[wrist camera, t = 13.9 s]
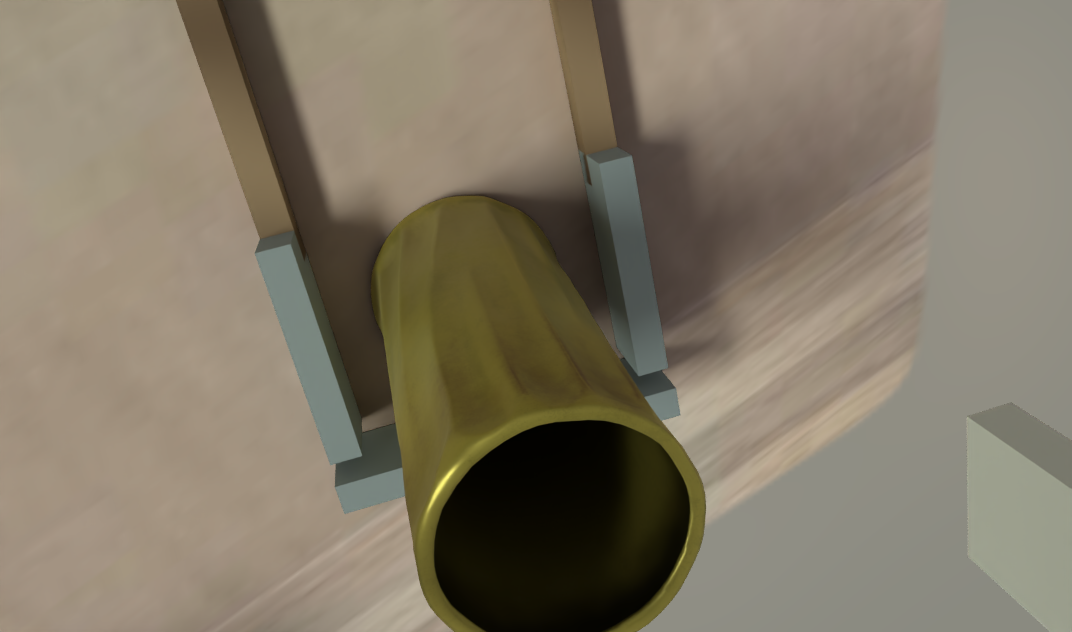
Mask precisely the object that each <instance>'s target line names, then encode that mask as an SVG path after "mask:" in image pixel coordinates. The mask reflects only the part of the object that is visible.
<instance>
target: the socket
mask: <svg viewBox="0 0 1072 632" xmlns="http://www.w3.org/2000/svg"><path fill="white" fill-rule="evenodd" d="M579 155H580V161H581V166H582V171H583V176H584V181H585V186H586V191H587V197H588V202H589V207H590V212H591V217H592V222H593V227H594V233H595V238H596V243H597V248H598V253H599V258H600V263H601V269H602V274H603V279H604V284H605V289H606V294H607V299H608V305H609V310H610V315H611V320H612V325H613V330H614V335H615V341H616V346H617V348H618V349H619V351H620V352H621V353H622V355H623V356H624V357H625V358H624V359H620V361H621V362H622V364H623V366H624V367H625V369H626V370H627V372H628V373H629V375H630V376H631V378H632V379H633V381H634V382H635V384H636V386H637V387H638V389H639V390H640V391H641V393H642V394H643V396H644V397H645V399H646V400H647V402H648V403H649V405H650V406H651V408H652V409H653V410H654V412H655V413H656V415H657V416H658V417H659V419H660V420H661V421H662V420H666V419H669V418H672V417H676V416H679V415H680V409H679V403H678V398H677V392H676V388H675V386H674V385H673V384H672V383H671V381H670V380H669V379H668V378H667V377H666V375H665V374H664V373H663V372H662V370H663V369H666V368H668V364H667V358H666V352H665V346H664V340H663V334H662V328H661V323H660V317H659V311H658V305H657V299H656V293H655V287H654V282H653V276H652V270H651V264H650V258H649V252H648V246H647V241H646V235H645V229H644V223H643V217H642V211H641V205H640V200H639V194H638V188H637V182H636V176H635V170H634V164H633V159H632V155H630V154H629V153H627V152H625V151H623V150H622V149H620V148H618V147H616V148H612V149H608V150H604V151H600V152H596V153H592V154H588V155H586V157H587V162H588V167H589V172H590V177H591V183H592V186H591V185H590V184H588V182H587V180H588V178H587V177H586V176H587V175H585V174H586V169H584V168H585V167H586V166H585V164H584V163H585V162H584V156H583V155H584V153H582V152H581V151H580V150H579ZM255 256H256V258H257V261H258V264H259V267H260V269H261V272H262V275H263V278H264V281H265V283H266V286H267V289H268V292H269V295H270V297H271V300H272V303H273V306H274V309H275V311H276V314H277V317H278V320H279V323H280V325H281V328H282V331H283V334H284V337H285V339H286V342H287V345H288V348H289V351H290V353H291V356H292V359H293V362H294V365H295V367H296V370H297V373H298V376H299V379H300V381H301V384H302V387H303V390H304V393H305V395H306V398H307V401H308V404H309V406H310V409H311V412H312V415H313V418H314V420H315V423H316V426H317V429H318V432H319V434H320V437H321V440H322V443H323V446H324V448H325V451H326V454H327V457H328V460H329V462H330V465H333V464H336V474H335V489H336V491H337V494H338V497H339V500H340V503H341V505H342V508H343V511H344V514H346V513H349V512H353V511H356V510H360V509H363V508H366V507H370V506H373V505H377V504H380V503H383V502H387V501H390V500H394V499H397V498H400V497H404V496H405V491H404V481H403V469H402V458H401V450H400V446H399V441H398V435H397V429H396V424H392V425H389V426H385V427H382V428H378V429H375V430H371V431H367V432H364V433H362V419H361V416H360V413H359V410H358V407H357V404H356V401H355V398H354V395H353V392H352V389H351V386H350V383H349V380H348V377H347V374H346V371H345V368H344V365H343V362H342V359H341V356H340V353H339V350H338V347H337V344H336V341H335V338H334V335H333V332H332V329H331V326H330V323H329V320H328V317H327V314H326V311H325V308H324V305H323V302H322V298H321V295H320V292H319V289H318V286H317V283H316V280H315V277H314V274H313V271H312V268H311V265H310V262H309V259H308V256H307V253H306V257H305V262H304V259H303V256H302V253H301V250H300V247H299V244H298V241H297V238H296V235H295V232H294V231H290V232H286V233H282V234H278V235H275V236H271V237H267V238H263V239H260V241H259V244H258V246H257V249H256V251H255Z"/></svg>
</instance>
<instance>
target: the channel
mask: <svg viewBox="0 0 1072 632" xmlns="http://www.w3.org/2000/svg"><path fill="white" fill-rule="evenodd" d="M549 1H550V6H551V12H552V17H553V22H554V27H555V32H556V37H557V42H558V48H559V53H560V58H561V63H562V68H563V73H564V78H565V84H566V89H567V94H568V99H569V104H570V109H571V114H572V120H573V125H574V130H575V135H576V140H577V145H578V150H580V151H581V152H582V153H584V155H583V156H584V162H585V163H584V164H585V166H586V167H585V168H584V169H586V174H585V175H587V176H586V177H587V178H588V180H587V182H588V184H590V185H591V186H592V183H591V177H590V172H589V167H588V162H587V157H586V155H588V154H592V153H596V152H600V151H604V150H608V149H612V148H616V147H617V142H616V136H615V131H614V125H613V119H612V114H611V108H610V102H609V97H608V91H607V85H606V80H605V74H604V68H603V63H602V57H601V51H600V46H599V40H598V34H597V29H596V23H595V17H594V12H593V6H592V0H549ZM176 2H177V5H178V8H179V10H180V13H181V16H182V19H183V22H184V25H185V27H186V30H187V33H188V36H189V39H190V42H191V44H192V47H193V50H194V53H195V56H196V59H197V61H198V64H199V67H200V70H201V73H202V76H203V79H204V81H205V84H206V87H207V90H208V93H209V96H210V98H211V101H212V104H213V107H214V110H215V113H216V115H217V118H218V121H219V124H220V127H221V130H222V132H223V135H224V138H225V141H226V144H227V147H228V149H229V152H230V155H231V158H232V161H233V164H234V166H235V169H236V172H237V175H238V178H239V181H240V183H241V186H242V189H243V192H244V195H245V198H246V200H247V203H248V206H249V209H250V212H251V215H252V217H253V220H254V223H255V226H256V229H257V232H258V234H259V237H260V239H263V238H267V237H271V236H275V235H278V234H282V233H286V232H290V231H294V232H295V235H296V238H297V241H298V244H299V247H300V250H301V253H302V256H303V259H304V262H305V257H306V250H305V247H304V244H303V241H302V238H301V235H300V232H299V229H298V226H297V223H296V220H295V217H294V214H293V211H292V208H291V205H290V202H289V199H288V196H287V193H286V190H285V187H284V184H283V181H282V178H281V175H280V172H279V169H278V166H277V163H276V160H275V157H274V154H273V151H272V148H271V145H270V142H269V139H268V136H267V133H266V130H265V127H264V124H263V121H262V118H261V115H260V112H259V109H258V106H257V103H256V100H255V97H254V94H253V91H252V88H251V85H250V82H249V79H248V76H247V73H246V70H245V67H244V64H243V61H242V58H241V55H240V52H239V49H238V46H237V43H236V40H235V37H234V34H233V31H232V28H231V25H230V22H229V19H228V16H227V13H226V10H225V7H224V4H223V1H222V0H176Z"/></svg>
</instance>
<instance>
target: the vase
mask: <svg viewBox="0 0 1072 632" xmlns="http://www.w3.org/2000/svg"><path fill="white" fill-rule="evenodd" d="M371 299H372V307H373V312H374V315H375V319H376V322H377V325H378V327H379V328H380V330H381V332H382V334H383V338H384V344H385V351H386V359H387V367H388V374H389V380H390V387H391V393H392V401H393V408H394V415H395V423H396V429H397V435H398V441H399V446H400V450H401V458H402V469H403V481H404V491H405V498H406V505H407V511H408V516H409V521H410V527H411V533H412V540H413V549H414V555H415V560H416V565H417V571H418V576H419V581H420V585H421V588H422V591H423V594H424V596H425V598H426V600H427V602H428V604H429V606H430V608H431V609H432V610H433V611H434V613H435V614H436V615H437V616H438V617H439V618H440V619H441V620H442V621H443V622H444V623H445V624H446V625H447V626H448V627H449V628H451V629H452V630H453V631H454V632H637V631H639V630H640V629H642V628H643V627H645V626H646V625H647V624H649V623H650V622H651V621H652V620H653V619H654V618H656V617H657V616H658V615H659V614H660V613H661V612H662V611H663V610H664V608H665V607H666V606H667V605H668V604H669V603H670V602H671V601H672V600H673V598H674V597H675V595H676V594H677V593H678V591H679V590H680V589H681V587H682V585H683V583H684V581H685V579H686V577H687V575H688V573H689V571H690V569H691V567H692V565H693V563H694V561H695V559H696V556H697V554H698V552H699V550H700V546H701V543H702V539H703V535H704V527H705V514H706V501H705V492H704V487H703V483H702V480H701V478H700V476H699V473H698V471H697V469H696V468H695V466H694V465H693V463H692V461H691V460H690V458H689V457H688V455H687V453H686V452H685V450H684V449H683V447H682V445H681V444H680V443H679V442H678V441H677V440H676V438H675V437H674V436H673V435H672V434H671V432H670V431H669V430H668V429H667V427H666V426H665V425H664V424H663V422H662V421H661V420H660V419H659V417H658V416H657V415H656V413H655V412H654V410H653V409H652V408H651V406H650V405H649V403H648V402H647V400H646V399H645V397H644V396H643V394H642V393H641V391H640V390H639V389H638V387H637V386H636V384H635V382H634V381H633V379H632V378H631V376H630V375H629V373H628V372H627V370H626V369H625V367H624V366H623V364H622V362H621V361H620V359H619V358H618V356H617V355H616V353H615V352H614V351H613V349H612V348H611V346H610V344H609V343H608V341H607V339H606V338H605V336H604V334H603V333H602V331H601V329H600V328H599V326H598V325H597V323H596V322H595V320H594V318H593V317H592V315H591V313H590V311H589V310H588V308H587V306H586V304H585V302H584V300H583V299H582V297H581V296H580V295H579V293H578V292H577V290H576V289H575V287H574V286H573V284H572V282H571V280H570V279H569V277H568V276H567V274H566V273H565V272H564V271H563V269H562V268H561V266H560V265H559V263H558V261H557V258H556V253H555V251H554V249H553V248H552V246H551V244H550V242H549V240H548V239H547V237H546V236H545V234H544V233H543V232H542V230H541V229H540V228H539V227H538V225H537V224H536V223H535V222H534V221H533V220H532V219H531V218H530V217H528V216H527V215H526V214H525V213H523V212H521V211H520V210H518V209H516V208H514V207H511V206H509V205H507V204H504V203H502V202H499V201H497V200H494V199H491V198H488V197H485V196H454V197H448V198H444V199H440V200H437V201H434V202H432V203H429V204H427V205H425V206H423V207H421V208H419V209H418V210H416V211H414V212H413V213H411V214H410V215H408V216H407V217H405V218H404V219H403V220H402V221H401V222H400V223H399V224H398V225H397V226H396V227H395V228H394V229H393V230H392V232H391V233H390V235H389V236H388V237H387V239H386V241H385V242H384V244H383V246H382V248H381V250H380V252H379V255H378V257H377V259H376V262H375V264H374V268H373V271H372V277H371Z"/></svg>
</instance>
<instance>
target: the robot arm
mask: <svg viewBox="0 0 1072 632" xmlns="http://www.w3.org/2000/svg"><path fill="white" fill-rule="evenodd" d="M967 497H968V498H967V501H968V504H967V505H968V557H969V558H970V559H971V560H972V561H973V562H975V563H976V564H977V565H978V566H979V567H980V568H981V569H982V570H983V571H984V572H985V573H986V574H988V575H989V576H990V577H991V578H992V579H993V580H994V581H995V582H996V583H997V584H998V585H999V586H1001V587H1002V588H1003V589H1004V590H1005V591H1006V592H1007V593H1008V594H1009V595H1010V596H1011V597H1013V598H1014V599H1015V600H1016V601H1017V602H1018V603H1019V604H1020V605H1021V606H1022V607H1023V608H1025V609H1026V610H1027V611H1028V612H1029V613H1030V614H1031V615H1032V616H1033V617H1034V618H1036V619H1037V620H1038V621H1039V622H1040V623H1041V624H1042V625H1043V626H1044V627H1045V628H1046V629H1048V630H1049V631H1050V632H1072V440H1070V439H1069V438H1067V437H1065V436H1064V435H1062V434H1061V433H1059V432H1057V431H1056V430H1054V429H1053V428H1051V427H1049V426H1048V425H1046V424H1045V423H1043V422H1041V421H1040V420H1038V419H1037V418H1035V417H1034V416H1032V415H1030V414H1029V413H1027V412H1026V411H1024V410H1022V409H1021V408H1019V407H1018V406H1016V405H1015V404H1013V403H1008V404H1004V405H1002V406H998V407H995V408H992V409H989V410H986V411H982V412H979V413H976V414H973V415H969V416H967Z"/></svg>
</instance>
